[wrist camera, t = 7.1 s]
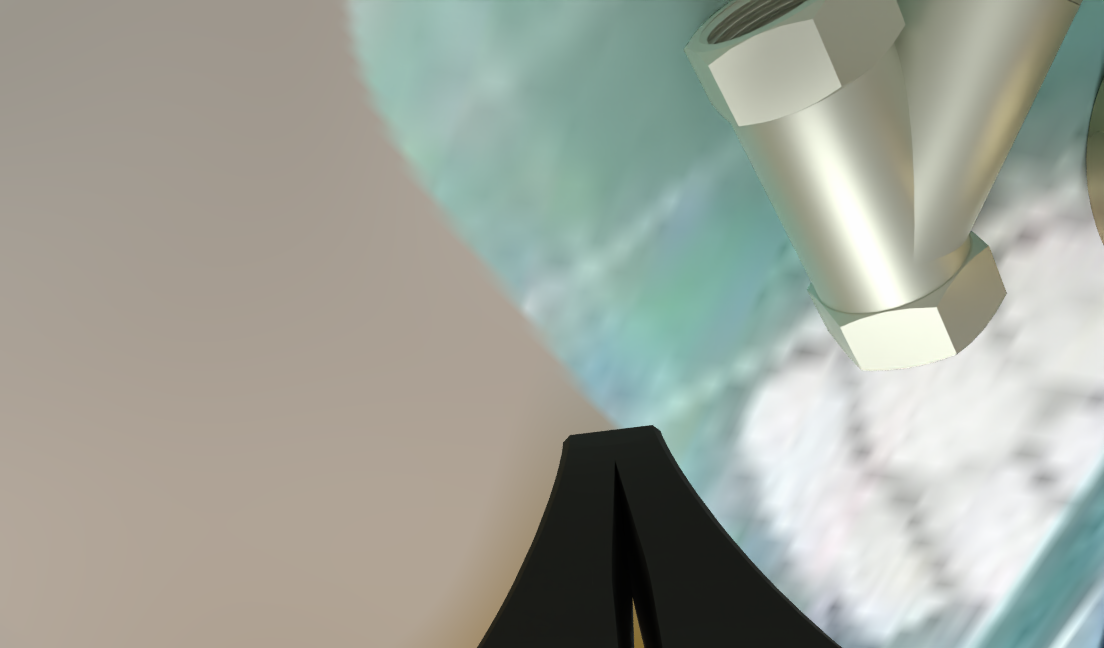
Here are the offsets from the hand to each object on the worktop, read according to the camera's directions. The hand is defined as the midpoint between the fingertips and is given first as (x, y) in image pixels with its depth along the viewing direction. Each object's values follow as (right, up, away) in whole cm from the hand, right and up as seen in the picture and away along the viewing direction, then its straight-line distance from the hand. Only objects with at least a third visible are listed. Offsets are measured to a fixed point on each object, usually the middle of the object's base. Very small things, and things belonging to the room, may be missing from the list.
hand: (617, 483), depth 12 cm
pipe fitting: (+7, +7, +6) cm, 12 cm away
